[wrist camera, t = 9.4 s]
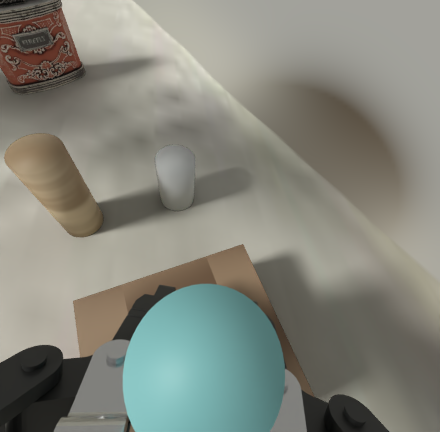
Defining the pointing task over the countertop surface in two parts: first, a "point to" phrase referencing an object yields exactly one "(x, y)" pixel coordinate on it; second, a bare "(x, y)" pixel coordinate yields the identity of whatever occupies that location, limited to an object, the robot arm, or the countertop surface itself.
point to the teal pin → (204, 365)
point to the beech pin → (55, 182)
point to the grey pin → (176, 176)
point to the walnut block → (178, 277)
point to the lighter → (36, 46)
